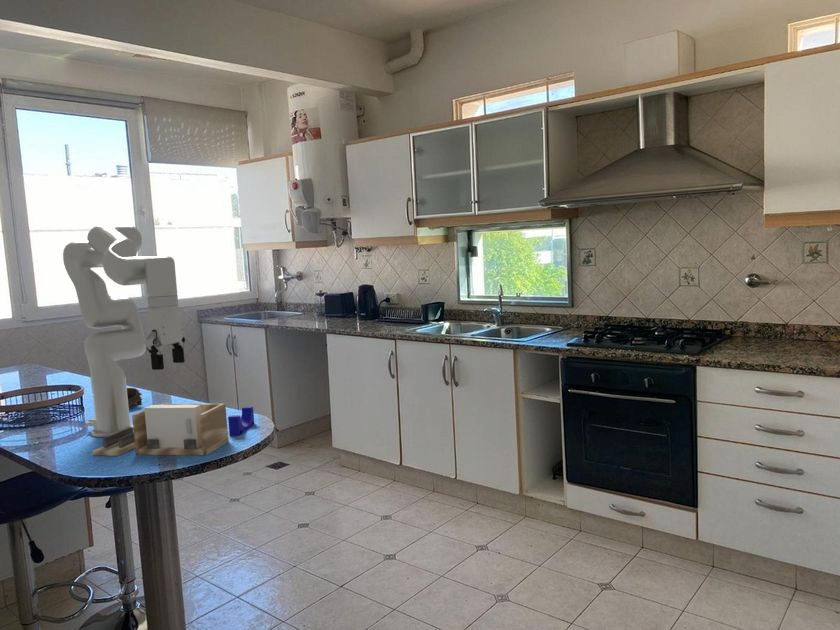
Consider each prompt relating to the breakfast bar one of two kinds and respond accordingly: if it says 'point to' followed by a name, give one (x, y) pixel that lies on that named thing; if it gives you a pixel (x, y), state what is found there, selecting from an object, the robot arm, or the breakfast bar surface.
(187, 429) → the door
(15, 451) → the breakfast bar surface
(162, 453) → the cabinet
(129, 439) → the door stand
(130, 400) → the pottery mug
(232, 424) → the cable clip
